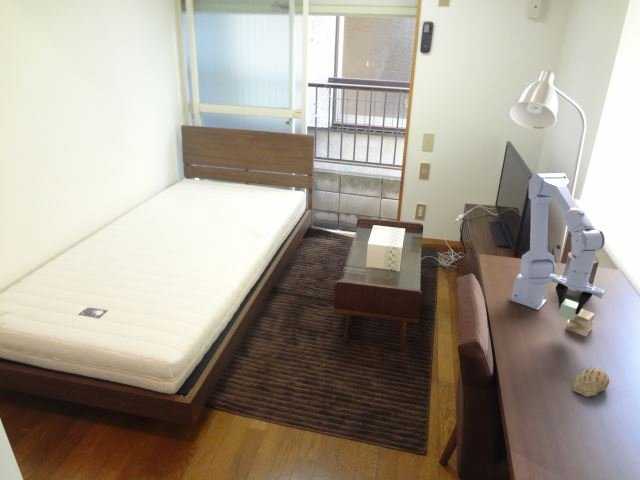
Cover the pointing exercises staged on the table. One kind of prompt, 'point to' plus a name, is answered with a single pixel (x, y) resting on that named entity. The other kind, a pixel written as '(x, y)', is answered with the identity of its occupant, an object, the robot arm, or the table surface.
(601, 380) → the seashell
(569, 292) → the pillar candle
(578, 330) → the base slab
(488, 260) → the table surface
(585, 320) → the beige square block
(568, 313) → the sage cube
